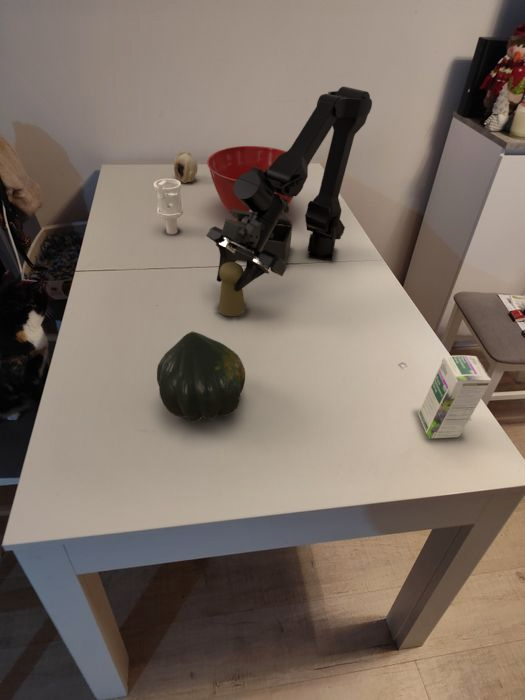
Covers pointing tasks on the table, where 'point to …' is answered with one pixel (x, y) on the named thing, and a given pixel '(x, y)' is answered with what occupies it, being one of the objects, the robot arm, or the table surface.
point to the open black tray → (274, 243)
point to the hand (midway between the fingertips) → (226, 286)
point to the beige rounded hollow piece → (185, 167)
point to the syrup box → (453, 396)
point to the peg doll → (231, 290)
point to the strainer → (169, 203)
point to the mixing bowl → (239, 170)
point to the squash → (200, 378)
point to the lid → (242, 214)
